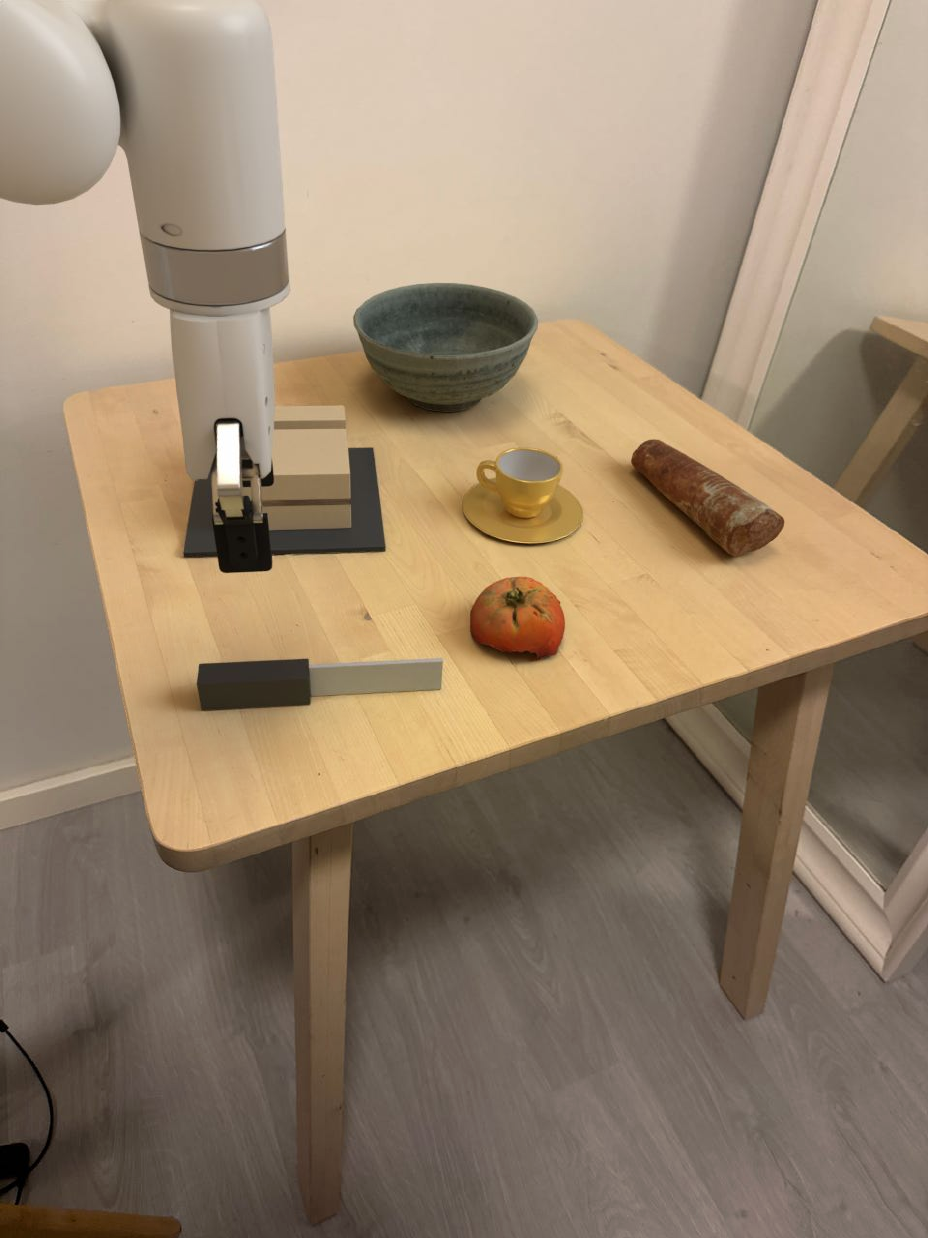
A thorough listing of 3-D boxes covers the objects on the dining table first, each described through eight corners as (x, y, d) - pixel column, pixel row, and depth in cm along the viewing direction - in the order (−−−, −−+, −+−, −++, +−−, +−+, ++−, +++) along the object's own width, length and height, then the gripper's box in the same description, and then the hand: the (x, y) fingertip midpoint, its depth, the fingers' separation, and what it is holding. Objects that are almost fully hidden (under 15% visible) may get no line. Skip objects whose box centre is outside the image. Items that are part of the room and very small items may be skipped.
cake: (183, 558, 81) (173, 495, 76) (200, 454, 94) (191, 396, 90) (385, 551, 83) (386, 490, 79) (373, 451, 97) (373, 395, 93)
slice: (226, 475, 90) (219, 421, 86) (227, 459, 93) (221, 406, 89) (347, 472, 92) (345, 419, 88) (345, 457, 94) (344, 405, 90)
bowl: (551, 432, 102) (563, 348, 96) (368, 444, 98) (367, 356, 92) (503, 354, 118) (510, 277, 111) (343, 361, 113) (341, 281, 107)
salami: (727, 571, 84) (743, 521, 81) (619, 469, 97) (628, 422, 94) (780, 557, 86) (798, 508, 83) (667, 459, 99) (678, 413, 96)
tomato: (447, 594, 76) (511, 542, 74) (498, 622, 81) (559, 573, 78) (473, 668, 72) (542, 615, 69) (525, 692, 76) (592, 644, 74)
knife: (201, 711, 67) (196, 682, 65) (203, 690, 68) (198, 661, 67) (442, 697, 69) (444, 669, 68) (439, 677, 71) (441, 649, 69)
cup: (593, 493, 93) (601, 447, 90) (567, 558, 84) (575, 509, 81) (481, 469, 95) (485, 423, 92) (445, 529, 87) (448, 481, 83)
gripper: (162, 211, 55) (200, 458, 66) (123, 329, 42) (178, 611, 53) (288, 213, 56) (304, 456, 67) (288, 328, 43) (308, 605, 54)
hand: (249, 524), depth 60 cm, fingers open, 9 cm apart
